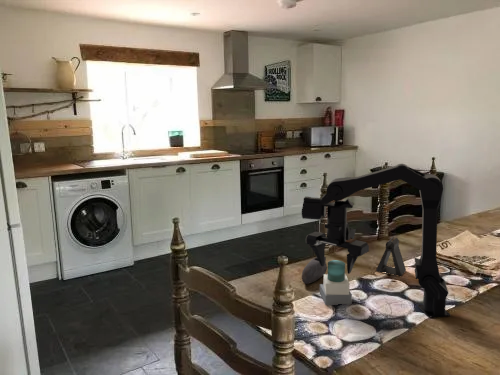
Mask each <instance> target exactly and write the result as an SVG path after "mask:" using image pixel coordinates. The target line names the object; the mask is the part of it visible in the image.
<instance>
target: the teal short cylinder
mask: <svg viewBox="0 0 500 375" xmlns="http://www.w3.org/2000/svg"><path fill="white" fill-rule="evenodd" d="M345 271H346V263H345V262H344V261H343V260H335V259H333V260H329V261H328V262H327V274H328V280H330V281H332V282H342V281H344V280H345V275H346V272H345Z"/></svg>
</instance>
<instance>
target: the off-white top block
mask: <svg viewBox="0 0 500 375" xmlns="http://www.w3.org/2000/svg"><path fill="white" fill-rule="evenodd" d="M322 277H323V278H322V279H323V283H322V284H323V285H324V289H325V293H326V294H332V295H349V291H350V282H349V279H348V277H347V274H345V280H344V281H342V282H332V281H330V280H328V273H327V274H326V273H325V274H324V275H323V276H322Z"/></svg>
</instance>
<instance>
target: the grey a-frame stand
mask: <svg viewBox="0 0 500 375" xmlns="http://www.w3.org/2000/svg"><path fill="white" fill-rule="evenodd" d="M399 243H400V240H399V238H398V237H391V238H390V239H389V240H388V241H387V242H385V250H384V252H383V254H382V256H381V259H380V260H379V263H378V265H377V267H376V270H375V271H376V272H378V271H380V272H379V273H382V272H386V273H385V274H387V273H388V274H389V273H390V274H389V275H391V274H394V275H393V276H396V275H398V276H397V277H400V276H401V277H402V276H403V275H404V273H406V271H407V269H406V266H405V262H404V259H403V256H402V252H401V249H400V246H399V245H400V244H399ZM391 255H392V256H391ZM390 256H391V257H392V262H393V266H392V267H391V266H389V265H388V262H389V259H390ZM387 265H388V266H387Z"/></svg>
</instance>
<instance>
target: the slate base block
mask: <svg viewBox="0 0 500 375" xmlns="http://www.w3.org/2000/svg"><path fill="white" fill-rule="evenodd" d="M319 295H320V297H321V300H322V301H323V303H324V306H336V305H338V304H342V305H353V304H352V303H353V302H352V301H353V300H352V298H353V295H352V293H351V291H350V290H349V295H332V294H326V293H325V289H324V285H323V283H320V284H319ZM338 306H339V305H338Z"/></svg>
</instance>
